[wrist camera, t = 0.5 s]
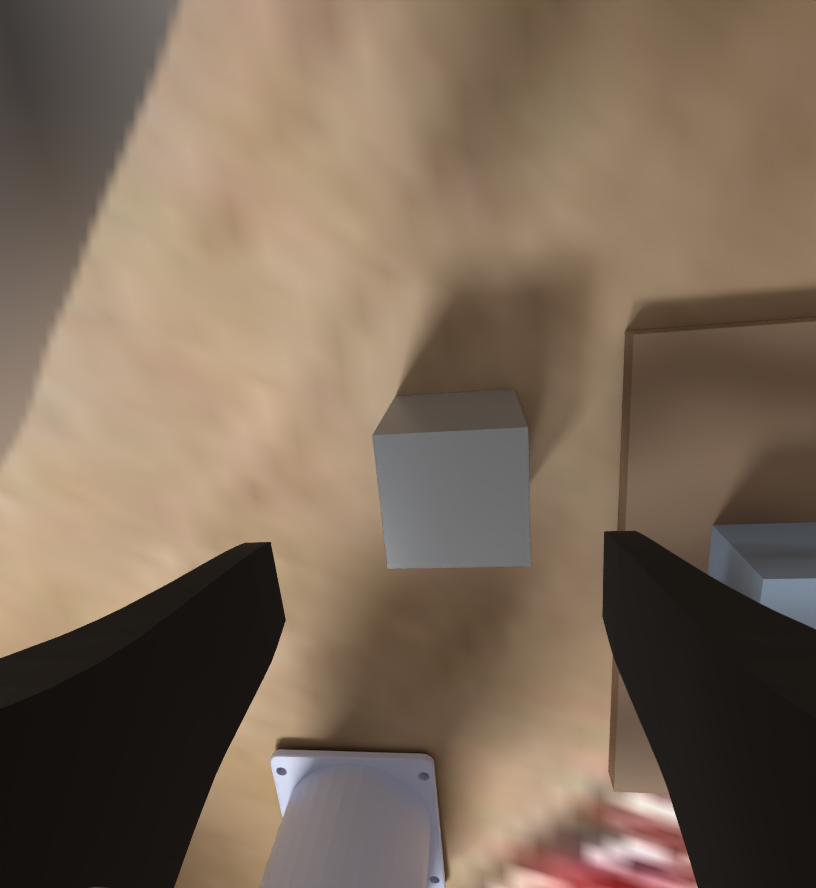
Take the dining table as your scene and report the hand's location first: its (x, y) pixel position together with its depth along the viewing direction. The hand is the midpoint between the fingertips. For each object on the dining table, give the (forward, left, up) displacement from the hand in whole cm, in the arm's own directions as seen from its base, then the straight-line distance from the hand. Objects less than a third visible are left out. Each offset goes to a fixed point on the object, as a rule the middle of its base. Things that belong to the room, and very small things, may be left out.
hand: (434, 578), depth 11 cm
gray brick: (0, 0, -10) cm, 10 cm away
